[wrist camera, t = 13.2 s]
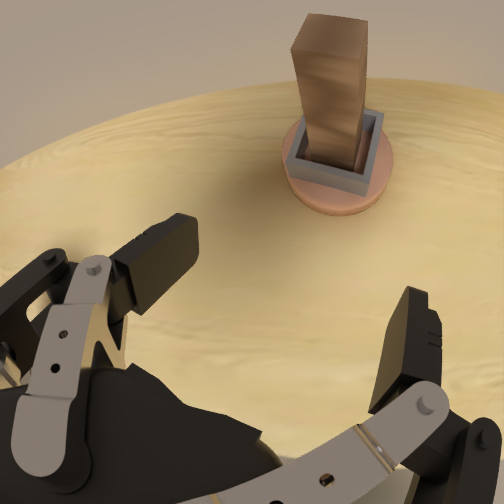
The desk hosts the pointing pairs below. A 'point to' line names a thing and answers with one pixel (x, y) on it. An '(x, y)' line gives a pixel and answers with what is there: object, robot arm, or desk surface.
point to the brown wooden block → (332, 86)
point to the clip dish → (339, 170)
